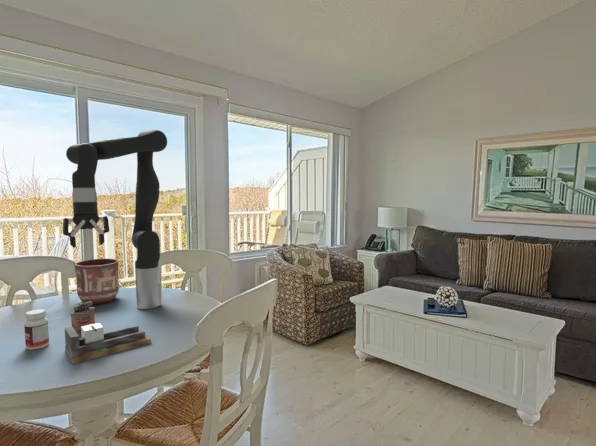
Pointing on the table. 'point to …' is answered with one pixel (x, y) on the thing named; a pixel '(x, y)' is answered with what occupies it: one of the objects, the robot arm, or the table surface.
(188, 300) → the table surface
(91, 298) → the pottery
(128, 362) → the table surface
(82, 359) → the gauge track
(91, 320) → the lighter
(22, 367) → the table surface
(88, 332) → the gauge slider
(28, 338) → the pill bottle
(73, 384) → the table surface
